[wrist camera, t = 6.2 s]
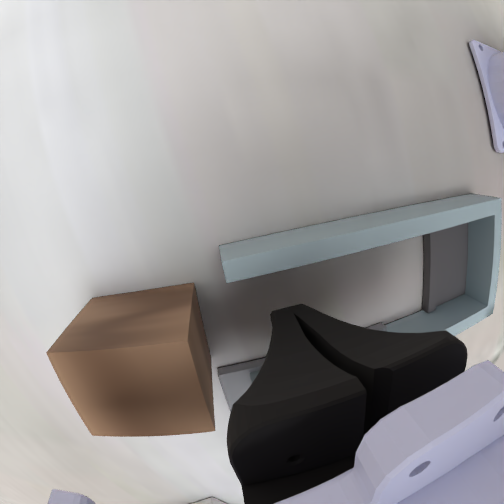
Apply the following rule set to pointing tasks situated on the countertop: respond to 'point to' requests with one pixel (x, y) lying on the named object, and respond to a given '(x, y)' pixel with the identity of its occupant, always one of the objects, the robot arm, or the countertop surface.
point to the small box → (210, 501)
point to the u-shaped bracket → (390, 231)
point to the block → (138, 364)
